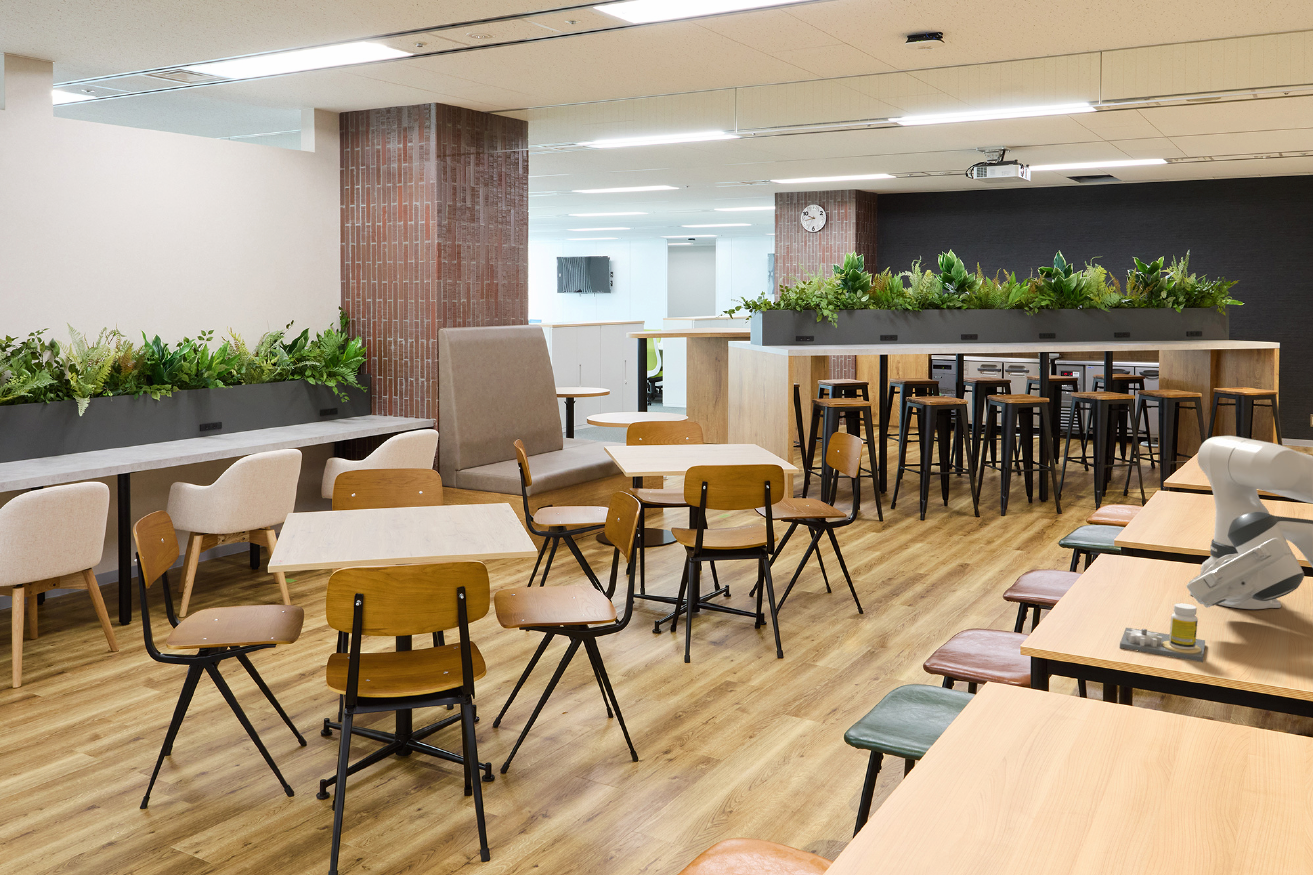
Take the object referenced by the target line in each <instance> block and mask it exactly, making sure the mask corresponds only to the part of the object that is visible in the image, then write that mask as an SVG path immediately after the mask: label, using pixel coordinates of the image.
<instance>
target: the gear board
mask: <svg viewBox="0 0 1313 875" xmlns="http://www.w3.org/2000/svg"><path fill="white" fill-rule="evenodd" d="M1169 637H1170V633H1169V634H1168V633H1162V632H1156V631H1150V630H1148V629H1145V628H1141V629H1137V628H1132V627H1125V630H1124V631H1123V634H1122V637H1121V640H1120V642H1119V649H1123V648H1125V649H1124V650H1128V649H1130V651H1134V650H1138V651H1137V652H1140V651H1141V653H1146V652H1149V653H1148V654H1152V655H1158V656H1163V657H1169V656H1170V657H1171V658H1176V659H1181V658H1182V660H1186V661H1187V660H1189V661H1194V662H1199V663H1203V662H1204V655H1205V654H1204V653H1205V646H1206V639H1200V638H1196V644H1195V648H1194V649H1191V650H1185V649H1178V648H1175V647H1172V646H1171V645H1170V644H1169Z"/></svg>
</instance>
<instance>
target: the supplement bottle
mask: <svg viewBox="0 0 1313 875" xmlns="http://www.w3.org/2000/svg"><path fill="white" fill-rule="evenodd" d="M1173 606H1174V607H1173V612H1172V614H1171V618H1170V630H1169V635H1170V637H1169V644H1170V645H1171V646H1172V647H1175V648H1178V649H1185V650H1191V649H1194V648H1195V644H1196V639H1197V631H1198V630H1197V629H1198V622H1199V621H1198V617H1197V608H1198V607H1197V606H1195V605H1193V604H1188V603H1181V602H1180V603H1175V604H1174V605H1173Z"/></svg>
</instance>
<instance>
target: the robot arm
mask: <svg viewBox="0 0 1313 875" xmlns="http://www.w3.org/2000/svg"><path fill="white" fill-rule="evenodd" d="M1197 463H1198V466H1199V468H1200V470H1201V471H1202V472H1203V473H1204V474H1205V476H1206V477H1207V480H1208V481H1209V482H1208V483H1209V485H1210V488H1211V490H1212V491H1211V492H1212V494H1213V498H1214V505H1215V518H1214V519H1215V520H1214V531H1213V532H1214V535H1213V539H1211V543H1210V550H1209V551H1210V552H1209V554H1210V557H1209V558H1208V559H1206V560H1205V561H1203V562H1202V564H1201V567H1200V574H1199V575H1197V576H1195V577H1193V578H1192V579H1190V580H1189V582H1188V583H1187V584H1186V588H1187V590H1188V591H1189V595H1190V596H1193V598H1194V599H1195V601H1196V602H1197V603H1198V604H1200V605H1203V606H1204V607H1205V608H1210V607H1214V606H1216V605H1219V606H1224V607H1230V608H1236V609H1245V610H1263V609H1269V608H1271V609H1274V608H1275V609H1278V608H1279V609H1280V608H1281V606H1282V604H1281V602H1280V600H1278V599H1279V598H1281V597H1285V596H1287V595H1289V594H1290V593H1292V592H1294V591H1295V590H1297V589H1298V588H1299V587H1300V585H1301V584H1302V583H1303V580H1304V578H1305V573H1304V571H1303V569H1302V566H1301V565H1300V562H1299V561H1298V559H1297V557H1296V556H1295V554H1294V553H1293V550H1292V549H1291V547H1290V544H1289V543H1288V542H1290V543H1292V544H1293V545H1294V546H1295V547H1296V548H1297V549H1298V550H1299V551H1300V552H1301V554H1302V555H1303V557H1304V558H1305V560H1306V561H1307V562H1308V563H1309V565H1310V566H1311V568H1313V519H1308V518H1306V519H1305V518H1299V517H1297V518H1296V517H1287V516H1279V515H1278V516H1277V515H1274V514H1270V512H1269V509H1268V508H1267V506H1265V505H1264V504H1263V501H1261V499H1260V497H1259V492H1258V490H1260V491H1264V492H1267V493H1271V494H1275V495H1278V496H1282V497H1285V498H1288V499H1292V500H1293V499H1294V500H1297V501H1301V502H1305V503H1309V504H1313V455H1311V454H1308V453H1305V452H1301V451H1297V450H1295V449H1292V448H1290V447H1287V446H1284V445H1281V444H1279V443H1278V444H1277V443H1274V442H1269V441H1263V440H1256V439H1253V438H1252V439H1251V438H1245V437H1240V436H1236V435H1235V436H1234V435H1221V436H1220V435H1219V436H1211V437H1210V438H1207V439H1206V440H1205V441H1204V442H1202V444H1201V445H1200V447H1199V449H1198V452H1197ZM1287 541H1288V542H1287Z"/></svg>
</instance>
